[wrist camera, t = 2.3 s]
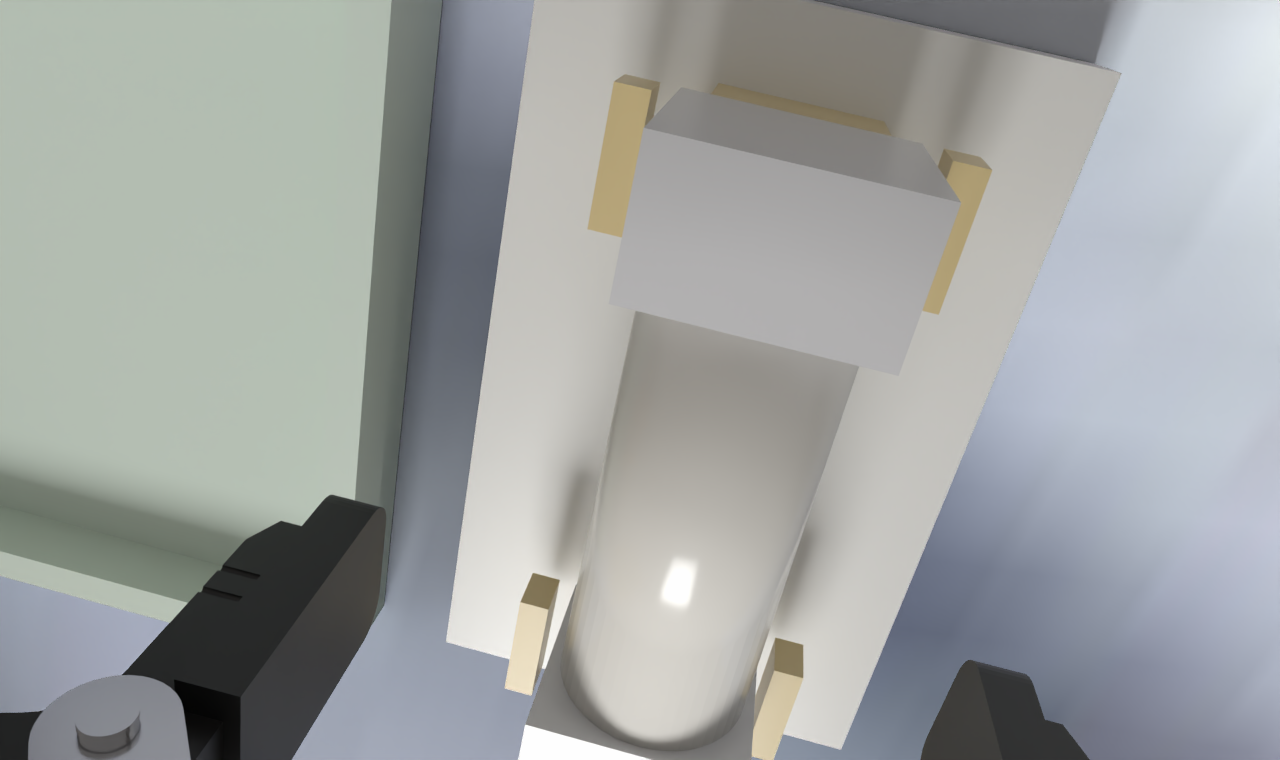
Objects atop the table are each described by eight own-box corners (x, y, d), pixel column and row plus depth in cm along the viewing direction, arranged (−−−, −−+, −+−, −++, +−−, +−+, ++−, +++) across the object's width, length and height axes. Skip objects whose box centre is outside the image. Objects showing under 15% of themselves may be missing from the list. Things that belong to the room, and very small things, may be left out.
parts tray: (455, -130, 17) (402, -143, 15) (384, 605, 25) (342, 670, 22) (-219, -279, 18) (-367, -315, 16) (-84, 478, 25) (-170, 529, 23)
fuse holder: (1095, 64, 17) (1176, 92, 13) (838, 704, 24) (845, 838, 20) (563, -57, 17) (500, -61, 14) (465, 603, 24) (407, 716, 21)
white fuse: (681, 86, 15) (643, 127, 11) (922, 143, 15) (961, 202, 11) (557, 667, 21) (507, 817, 17) (731, 715, 20) (717, 876, 17)
